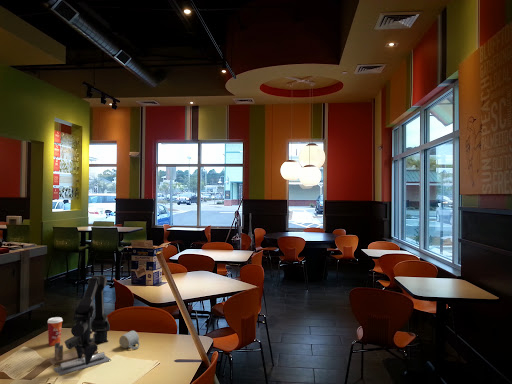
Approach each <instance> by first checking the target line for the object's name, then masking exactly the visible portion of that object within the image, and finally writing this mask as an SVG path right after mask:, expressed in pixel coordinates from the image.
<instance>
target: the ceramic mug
mask: <svg viewBox="0 0 512 384" xmlns="http://www.w3.org/2000/svg"><path fill="white" fill-rule="evenodd" d="M118 343H119V345H120V347H121V348H122V349H128V348H130V349H131V350H136V349H139V348H140V337H139V334H138V332H137V331H135V330H130V331H129V332H126V333H124V334H123V335H121V336H120V337H119V341H118ZM135 345H137V346H135Z"/></svg>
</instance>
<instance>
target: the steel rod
mask: <svg viewBox="0 0 512 384" xmlns="http://www.w3.org/2000/svg"><path fill="white" fill-rule="evenodd" d="M105 356H106V355H105V352H104V351H102V352H98V354H94V355H93V356H92V358H91V360H90V362H93V361H96V360H100V359H103V358H105ZM82 364H86V363H85V357H83V358H80V359H76V360H72V361H69V362H65V363H61V364H60V365H59V367H60V368H61V370H64V369H68V368H71V367H75V366H79V365H82Z"/></svg>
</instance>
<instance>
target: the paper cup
mask: <svg viewBox="0 0 512 384" xmlns="http://www.w3.org/2000/svg"><path fill="white" fill-rule="evenodd" d="M63 321H64V320H63V318H62V317H60V316H55V317H50V318H48V320H47V333H48V334H47V335H48V337H47V338H48V346H49V347H55V343H60V344H61V336H62V325H63Z"/></svg>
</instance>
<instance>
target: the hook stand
mask: <svg viewBox="0 0 512 384" xmlns="http://www.w3.org/2000/svg"><path fill="white" fill-rule="evenodd" d="M90 339H91V340H92V342H90V343H94V338H93V337H90ZM90 343H89V344H90ZM94 344H95V343H94ZM98 353H99V351H98V350H97V351H96V352H95V353H94V354H98ZM94 354H93V355H94ZM83 357H85V355H84V354H82V357H81V358H83ZM76 359H78V355H77V351H72V352H69V353H64V345H63V344H61V342H60V343H55V346H54V355H53V356H52V357H49V359H48V360H49V362H50V363H51V365H53V366H54V367H55V366H56V367H58V366H60V364H61V363H65V362H69V361H72V360H76Z"/></svg>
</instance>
